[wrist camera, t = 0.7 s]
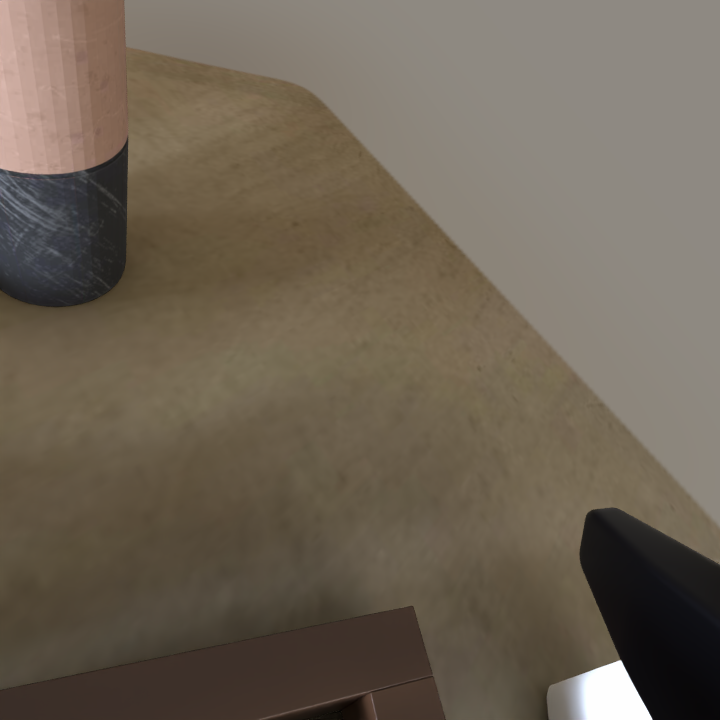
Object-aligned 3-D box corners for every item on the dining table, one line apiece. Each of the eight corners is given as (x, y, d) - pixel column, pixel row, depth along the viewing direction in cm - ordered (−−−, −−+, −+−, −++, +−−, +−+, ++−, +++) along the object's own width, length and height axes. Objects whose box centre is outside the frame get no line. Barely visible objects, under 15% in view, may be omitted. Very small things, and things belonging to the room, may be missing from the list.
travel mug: (159, 261, 35) (171, -162, 20) (57, 334, 30) (-26, -154, 15) (58, 197, 36) (-2, -254, 21) (-57, 259, 31) (-243, -275, 16)
